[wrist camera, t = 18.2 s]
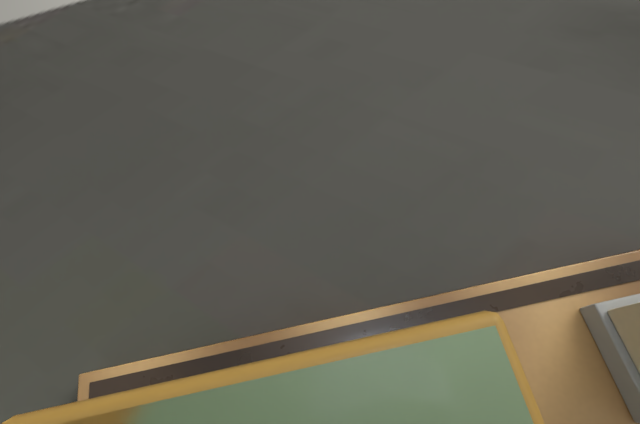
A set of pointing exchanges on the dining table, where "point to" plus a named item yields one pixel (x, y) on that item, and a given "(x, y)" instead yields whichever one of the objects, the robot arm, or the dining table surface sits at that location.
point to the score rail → (501, 297)
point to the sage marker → (340, 385)
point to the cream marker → (619, 344)
